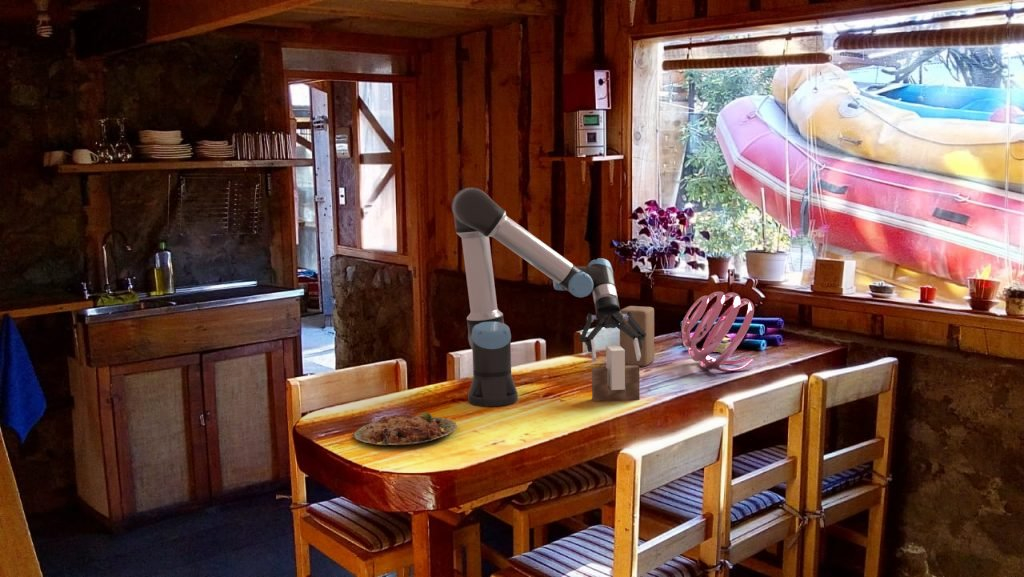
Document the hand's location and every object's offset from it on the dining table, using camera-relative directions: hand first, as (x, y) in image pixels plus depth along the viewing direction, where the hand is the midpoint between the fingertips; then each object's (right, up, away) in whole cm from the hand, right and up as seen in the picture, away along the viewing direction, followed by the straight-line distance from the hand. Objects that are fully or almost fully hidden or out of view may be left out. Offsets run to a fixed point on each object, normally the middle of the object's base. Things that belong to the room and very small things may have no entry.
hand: (616, 359), depth 263 cm
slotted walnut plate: (0, -12, +4) cm, 13 cm away
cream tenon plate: (0, -8, +3) cm, 9 cm away
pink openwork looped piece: (+39, -6, +41) cm, 57 cm away
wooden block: (+13, -6, +51) cm, 53 cm away
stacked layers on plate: (+47, -3, +66) cm, 81 cm away
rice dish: (-60, -19, -26) cm, 68 cm away
